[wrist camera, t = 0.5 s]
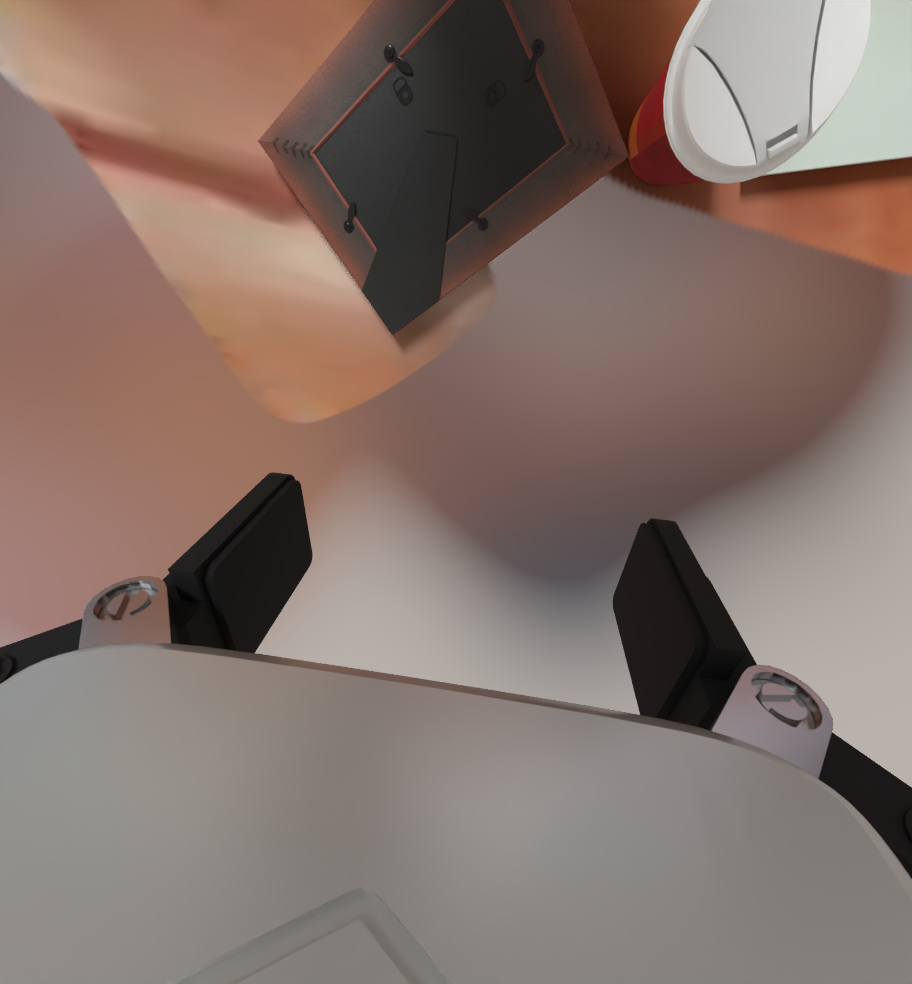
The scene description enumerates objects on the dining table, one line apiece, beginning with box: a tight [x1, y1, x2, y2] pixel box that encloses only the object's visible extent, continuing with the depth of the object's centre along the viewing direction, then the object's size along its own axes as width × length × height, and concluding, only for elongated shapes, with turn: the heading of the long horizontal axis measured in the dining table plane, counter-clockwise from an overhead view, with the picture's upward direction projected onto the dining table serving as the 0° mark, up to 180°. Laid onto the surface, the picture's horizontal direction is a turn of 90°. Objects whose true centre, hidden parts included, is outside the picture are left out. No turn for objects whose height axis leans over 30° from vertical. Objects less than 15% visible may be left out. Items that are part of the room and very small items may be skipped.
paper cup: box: [627, 0, 871, 185], centre depth 23 cm, size 8×8×14 cm
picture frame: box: [258, 0, 629, 335], centre depth 30 cm, size 16×2×22 cm
